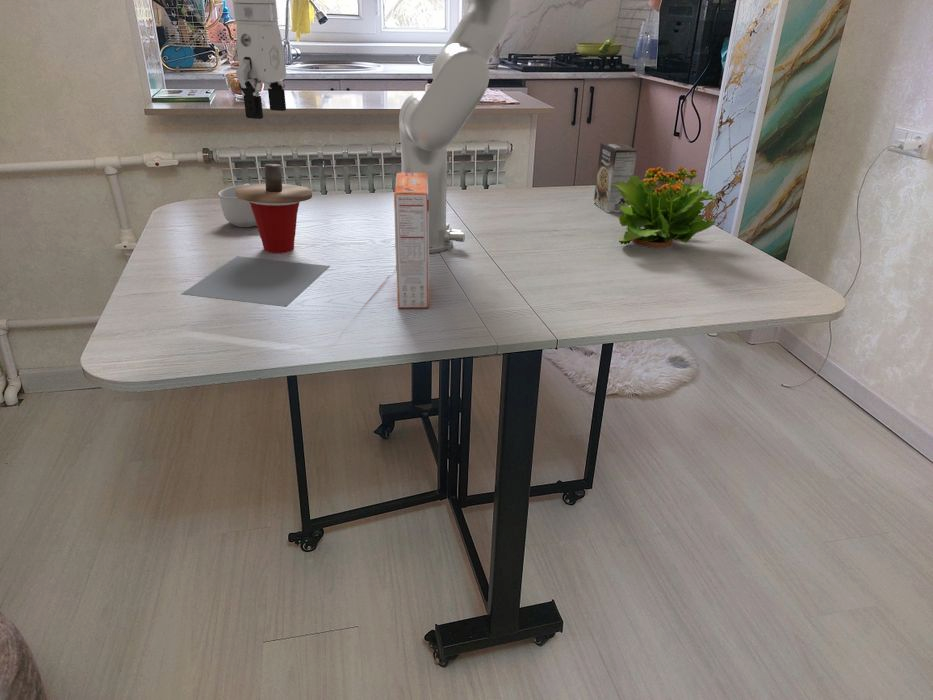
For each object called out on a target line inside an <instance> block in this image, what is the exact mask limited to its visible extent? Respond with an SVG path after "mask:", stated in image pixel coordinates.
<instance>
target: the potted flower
mask: <svg viewBox="0 0 933 700" xmlns="http://www.w3.org/2000/svg"><path fill="white" fill-rule="evenodd" d="M687 170H688V169H687V168H685V167H684V166H680V167H678V168H677V171H676V172H673V171H669V172H668V171H665V172H664V168H662V167H661V166H658V167H656V168H655V167H651V168H650V167H649V168H648V169H647V170H646V171H645V175H644V179H641V178H640V177H639V176H638V175H635V174H634V175H631V177H630V178H629V179H630V180H628V181H627V183H625V182H624V181H623V182H622V183H621V182H619V181H618V182H616V184H617V185H611V186H613V187H616V188H618V189H619V191H620V193H621V195H622V196H623V197H624V201H625V202H626V203H627V205H629V206H621V207H620V209H621V211H622V212H621V213H623V214H622V215H619V216H618V221H619V224H620V225H621V226H622V227H626V228H625V229H626V230H627V231H625V232H624V235H623V237H621V238H619V240H618V243H619V244H620V245H630V244H631V242H632V243H633V242H634V243H633V244H637V245H639V246H642V247H646V246H647V248H651V247H654V248H653V249H659V248H660V247H661V248H667V247H670V246H672V244H673V243H674V241H681V242H682V243H688V242H689V241H690V240H692V238H693V237H694V236H695V235H696V234H697V233H700V232H702V231H706V230H708V229H709V228H711V227H713V226H714V225H715V224H716V222H717V221H715V220H705V219H704V217H705V215H704V214H701V213H702V210H703V209H705V203H704V201H709V200H711V201H712V200H717V197H716V196H715V195H713V194H712V193H710V191H709V190H704V188H705V187H704V183H702V182H701V181H697V182H696V183H695V184H694V185H693V184H692V182H693V179H694V178H696V177H697V176H698V175H697V174H696V173H698V171H699V170H698V169H695V168H690V169H689V170H688V171H689V172H690V173H688V171H687ZM686 179H689V180H690V182H689V183H684V182H685V181H686ZM658 183H659V184H660V186H661V187H657V186H658Z"/></svg>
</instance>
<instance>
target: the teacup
mask: <svg viewBox="0 0 933 700" xmlns="http://www.w3.org/2000/svg"><path fill="white" fill-rule="evenodd" d="M245 185H251V184H250V183H244V184H240V185H233V186H231V187H227V188H224V189H221V190H220V191H219V192H218V197H219V201H220V207H221V210H222V214H223V216H224V219H226V221H227V222H229V223H231V224H232V225H234V226H235V227H238V228H250V227H257V224H256V220H255V217H254V213H253V211H252V208H251V205H250V202H249V201H246V200H242V199H239V198H237V197H236V196H235V189H236V188H238V187H241V186H245Z"/></svg>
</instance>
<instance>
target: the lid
mask: <svg viewBox="0 0 933 700" xmlns="http://www.w3.org/2000/svg"><path fill="white" fill-rule="evenodd" d="M264 179H265V180H264V181H265V183H251V184H250V185H245V186H241V187H238V188H236V189H235V196H236V197H237V198H239V199H242V200H246V201H251V202H259V203H294V202H304V201H308V200H311V199H312V198H313V190H312V189H311V188H309V187H306V186H301V185H296V184H290V183H289V184H288V183H287V184H286V183H283V180H282V179H283V176H282V165H281V164H278V163H266V164H264Z"/></svg>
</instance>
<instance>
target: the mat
mask: <svg viewBox="0 0 933 700" xmlns="http://www.w3.org/2000/svg"><path fill="white" fill-rule="evenodd" d="M330 267H331V266H330V265H324V264H316V263H315V264H314V263H307V262H305V263H304V262H298V261H285V260H277V259H269V258H268V259H267V258H259V257H247V256H239V255H237V256H235V257H233V258H232V259H231V260H229V261H228V262H227V263H225V264H223V265H222V266H220V267H219V268H217V269H216V270H214V271H213V272H211V273H210V274H208V275H207V276H206V277H204V278H202V279H201V280H199V281H198V282H196V283H194V285H192V286H191V287H189V288H188V289H186V290H184V291H183V292H182V293H181V295H185V296H186V295H187V296H195V297H202V298H204V297H205V298H210V299H219V300H226V301H227V300H228V301H234V302H235V301H237V302H242V303H243V302H244V303H252V304H261V305H269V306H270V305H271V306H278V307H288V306H289V305H291V303H292V302H293V301H294V300H295V299H297V297H298V296H300V295H301V294H302V293H303V292H304V291H305V290H306V289H307V288H308V287H310V286H311V284H313V283H314V282H315V281H316V280H317V279H318V278H319V277H320V276H321V275H322V274H324V272H326V271H327V270H328V269H329V268H330Z"/></svg>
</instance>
